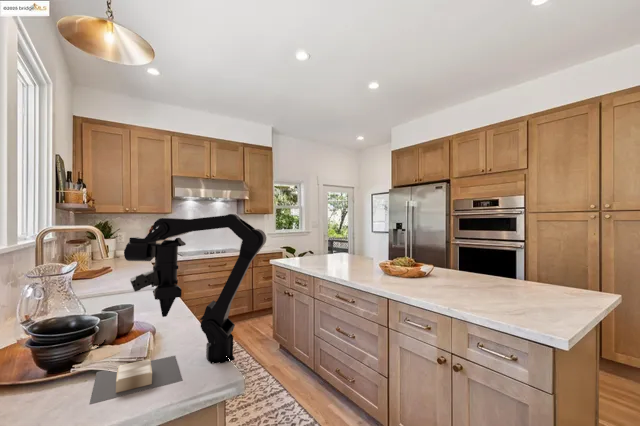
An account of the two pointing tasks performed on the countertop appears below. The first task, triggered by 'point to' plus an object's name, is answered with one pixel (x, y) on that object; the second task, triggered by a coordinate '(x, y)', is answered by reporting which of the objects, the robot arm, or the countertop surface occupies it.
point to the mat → (162, 375)
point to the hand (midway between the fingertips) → (164, 316)
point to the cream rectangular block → (133, 375)
